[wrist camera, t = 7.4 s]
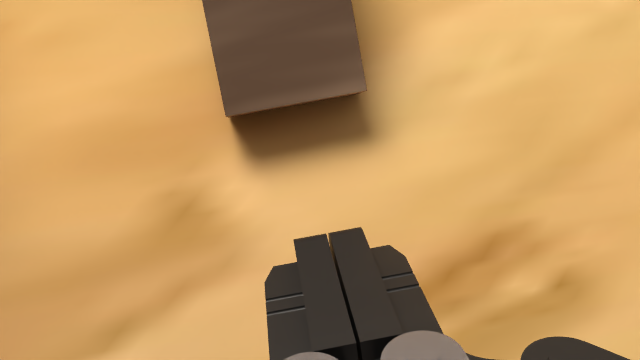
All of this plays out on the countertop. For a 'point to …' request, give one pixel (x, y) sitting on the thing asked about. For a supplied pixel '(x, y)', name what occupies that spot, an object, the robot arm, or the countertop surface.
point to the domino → (283, 52)
